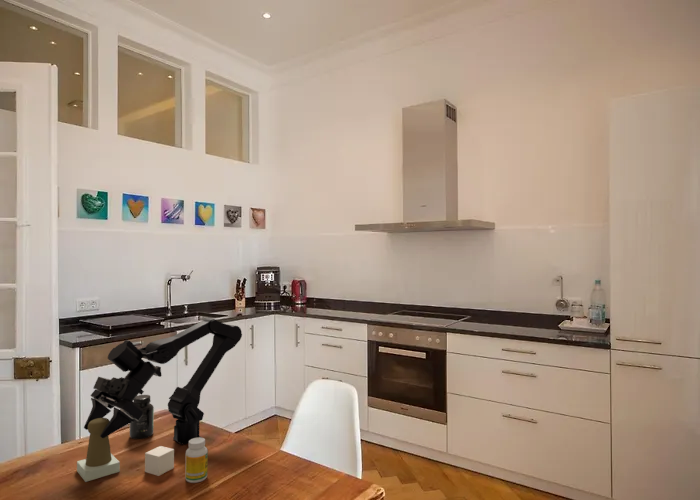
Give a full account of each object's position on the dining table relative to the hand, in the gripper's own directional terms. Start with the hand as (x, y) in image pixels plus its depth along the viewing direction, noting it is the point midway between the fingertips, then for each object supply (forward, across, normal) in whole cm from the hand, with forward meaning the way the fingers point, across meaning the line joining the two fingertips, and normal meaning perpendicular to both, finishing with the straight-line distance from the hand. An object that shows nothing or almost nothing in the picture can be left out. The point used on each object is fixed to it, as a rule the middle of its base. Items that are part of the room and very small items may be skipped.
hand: (93, 433), depth 119 cm
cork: (+5, 0, +7) cm, 8 cm away
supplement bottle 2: (-3, +23, +18) cm, 30 cm away
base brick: (+6, 0, +8) cm, 10 cm away
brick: (-1, +12, +16) cm, 20 cm away
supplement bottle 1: (-7, -14, +22) cm, 27 cm away
